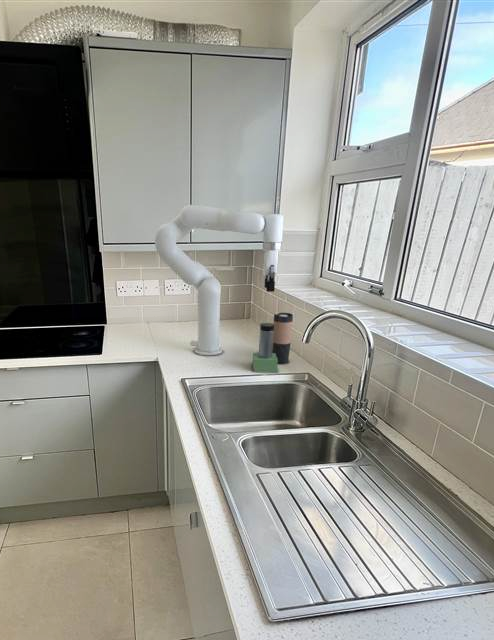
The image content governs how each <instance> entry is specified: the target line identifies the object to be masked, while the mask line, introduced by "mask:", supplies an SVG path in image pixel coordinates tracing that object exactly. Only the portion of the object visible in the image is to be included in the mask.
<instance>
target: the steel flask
mask: <svg viewBox="0 0 494 640" xmlns="http://www.w3.org/2000/svg"><path fill="white" fill-rule="evenodd" d="M274 326H275V325H274V324H273V323H271V322H262V323H260V325H259V327H260V328H259V340H258V341H259V342H258V353H259V355H258V356H259V357H260V358H265V359H267V358H272V352H273V339H274Z"/></svg>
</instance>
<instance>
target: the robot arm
mask: <svg viewBox="0 0 494 640" xmlns="http://www.w3.org/2000/svg"><path fill="white" fill-rule="evenodd" d="M284 219H285V217H284V215H283V214H281V213H267V214H260V213H257V212H248V211H240V210H232V209H227V208H225V207H224V208H223V207H216V206H215V207H214V206H208V205H207V206H206V205H197V204H187V205H185V206H183V208H182V209H181V211H180V213H179V214H178V215H177V216H175V217H174V218H173V219H171V220H170V221H169V222H168V223H167V222H166V223H163V224H161V225H160V226H158V229H157V230H156V232H155V237H154V246H155V250H156V252H157V254H158V256H159V257H160V259H161V260H162V261H163V262H164V264H166V266H168V268H170V269H171V270H172V271H173V273H174V274H176V276H177V277H179V278H180V279H181V281H183V282H184V283H185V284H186V285H189V286H193V287H194V289H195V290H197V340H190V342H189V343H190V346H192V347H195V348H194V353H195V354H197V355H201V356H217V355H220V354H222V353H223V347H221V346H220V327H221V326H220V320H221V319H220V318H221V293H222V285H221V282H220V281H219V279H217V278H216V277H215V276H214V275H213V274H212V273H211V272H210V271H209V270H208V269H207V268H206V267H205V266H204V265H203V264H202V263H201V262H199V261H197V260H192V259H191V258H190V257H189V256H188V255H187V254H186V253H185V252H184V251H183V250H182V249H181V248H180V247H179V246H178V244H177V243H178V242H179V241H180V240H182V239H183V238H185V236H187V235H188V234H189V233H191V232H192V231H193V230H194V229H201V230H210V231H218V232H231V233H242V234H250V235H257V234H259V233H263V237H262V239H263V241H262V251H263V252H264V256H263V266H262V267H263V268H262V274H263V276H264V286H263V287H264V288H265V291H266V292H268V293H269V292H270V293H273V292H275V289H276V288H275V287H276V276H277V274H278V261H279V252H281V251H282V246H283V236H284V235H283V234H284V233H283V232H284V221H285V220H284Z"/></svg>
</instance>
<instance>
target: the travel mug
mask: <svg viewBox="0 0 494 640" xmlns="http://www.w3.org/2000/svg"><path fill="white" fill-rule="evenodd" d="M293 320H294V315H293V314H292V313H290V312H278V313H274V314H273V323H272V324H274V325H275V326H274V339H273V352H272V353H275V354H276V357H277V359H278V365H284V364H288V363H289V357H290V351H291V344H292V343H291V342H292V332H293V331H292V330H293Z"/></svg>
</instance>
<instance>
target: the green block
mask: <svg viewBox="0 0 494 640" xmlns="http://www.w3.org/2000/svg"><path fill="white" fill-rule="evenodd" d="M258 355H259V352H252V369H253V372H254V373H278V365H279V364H278V359H277V357H276V354H275V353H272V358H267V359H265V358H260V357H259V356H258Z"/></svg>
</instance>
